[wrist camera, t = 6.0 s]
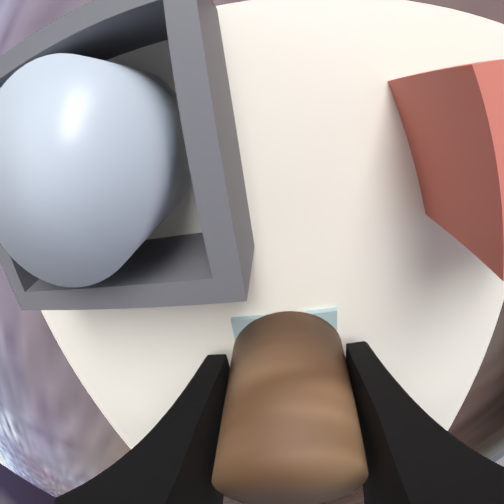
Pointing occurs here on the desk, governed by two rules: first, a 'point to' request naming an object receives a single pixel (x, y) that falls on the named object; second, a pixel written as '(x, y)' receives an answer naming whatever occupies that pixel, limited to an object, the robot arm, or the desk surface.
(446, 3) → the desk surface
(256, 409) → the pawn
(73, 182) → the dome
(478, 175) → the die
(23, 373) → the desk surface
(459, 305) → the board
